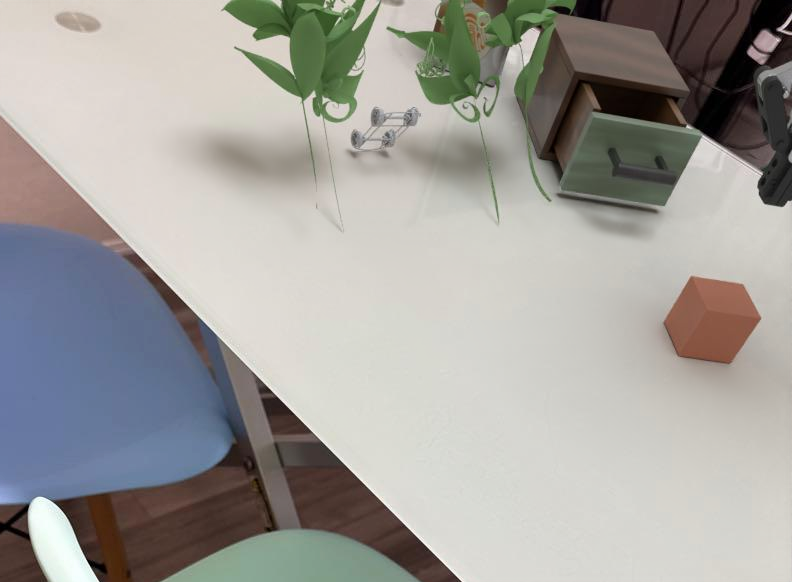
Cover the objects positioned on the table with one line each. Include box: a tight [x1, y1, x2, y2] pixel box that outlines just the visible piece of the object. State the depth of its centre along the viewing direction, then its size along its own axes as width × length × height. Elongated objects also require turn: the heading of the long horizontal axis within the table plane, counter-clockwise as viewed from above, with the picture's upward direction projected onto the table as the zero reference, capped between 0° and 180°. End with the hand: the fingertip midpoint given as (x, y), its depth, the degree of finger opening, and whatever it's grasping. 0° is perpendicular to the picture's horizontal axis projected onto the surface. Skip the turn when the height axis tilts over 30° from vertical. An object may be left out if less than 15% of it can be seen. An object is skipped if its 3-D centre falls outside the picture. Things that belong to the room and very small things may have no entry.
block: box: [663, 275, 762, 364], centre depth 87 cm, size 5×5×5 cm
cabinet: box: [515, 13, 691, 163], centre depth 108 cm, size 15×13×10 cm
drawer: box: [552, 79, 703, 207], centre depth 102 cm, size 18×11×8 cm, turn 0°
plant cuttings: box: [220, 0, 577, 231], centre depth 93 cm, size 35×17×22 cm
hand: (770, 200), depth 79 cm, fingers closed
